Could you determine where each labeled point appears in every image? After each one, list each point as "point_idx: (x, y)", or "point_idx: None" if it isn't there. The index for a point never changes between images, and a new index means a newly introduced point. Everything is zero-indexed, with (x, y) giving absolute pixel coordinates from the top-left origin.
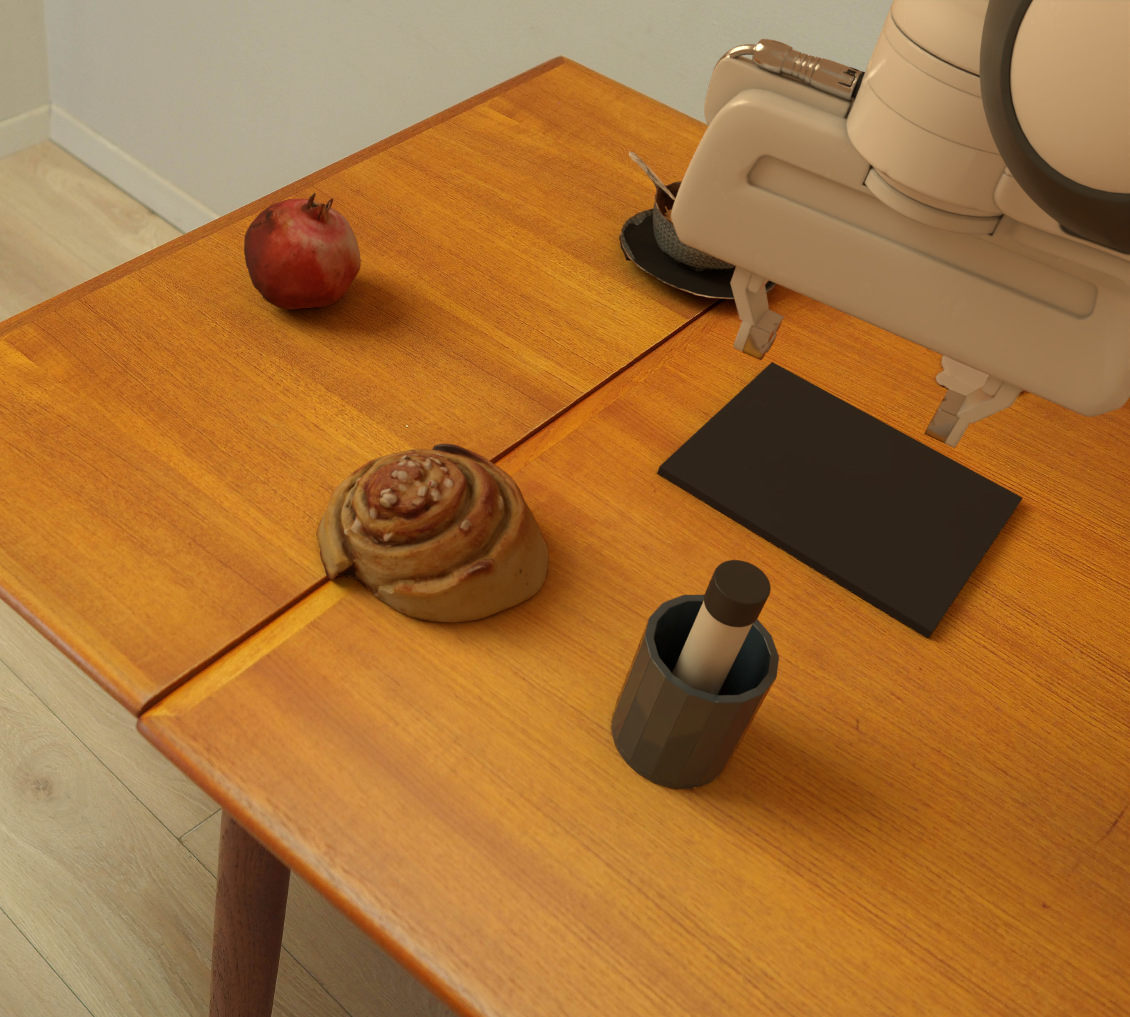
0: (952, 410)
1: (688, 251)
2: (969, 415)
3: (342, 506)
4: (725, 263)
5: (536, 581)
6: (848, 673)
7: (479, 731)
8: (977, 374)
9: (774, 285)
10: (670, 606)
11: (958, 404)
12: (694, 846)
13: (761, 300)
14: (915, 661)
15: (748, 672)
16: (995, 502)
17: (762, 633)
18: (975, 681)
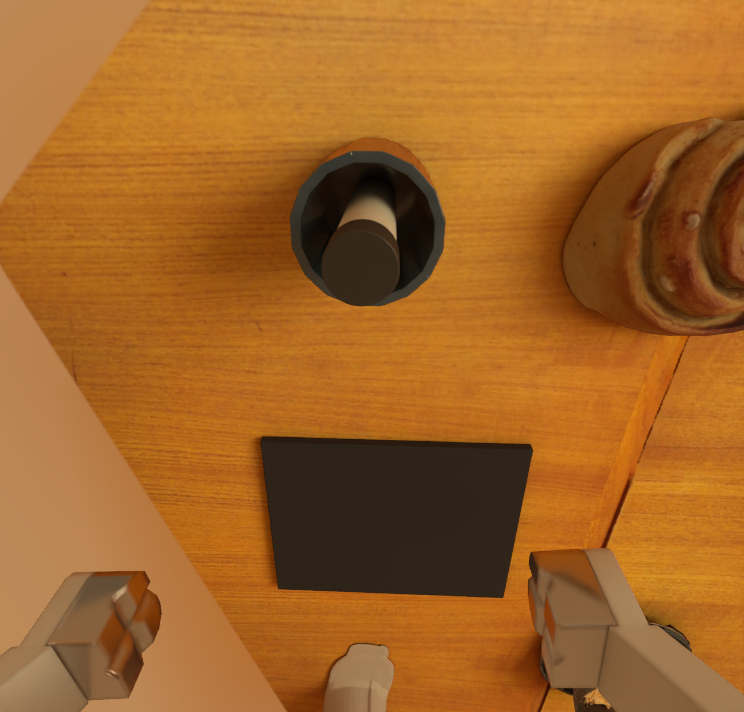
0: (73, 654)
1: None
2: (14, 663)
3: None
4: None
5: (571, 255)
6: (291, 366)
7: (529, 57)
8: (364, 666)
9: (540, 663)
10: (433, 250)
11: (78, 674)
12: (292, 105)
13: (638, 710)
14: (258, 411)
15: None
16: (290, 574)
17: None
18: (214, 424)
